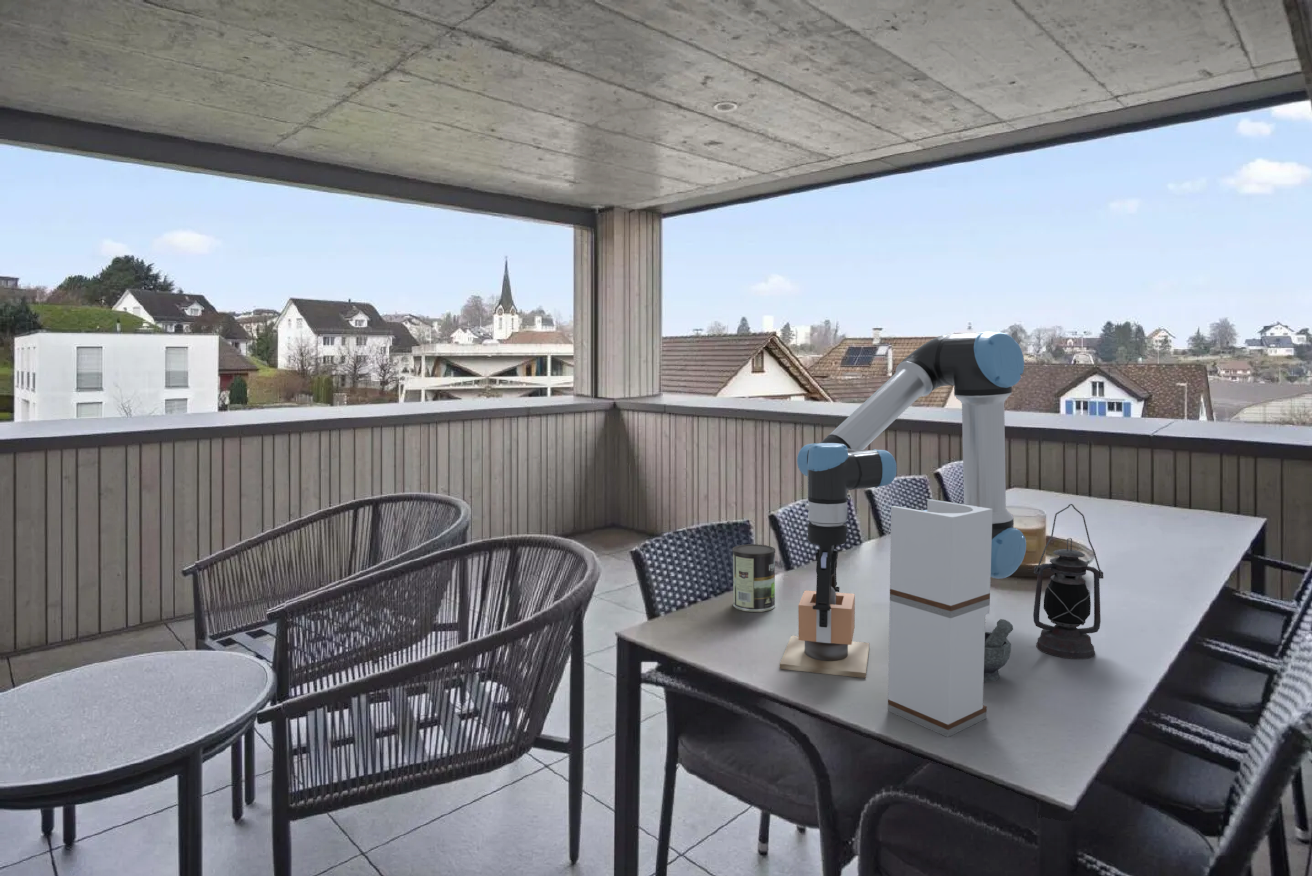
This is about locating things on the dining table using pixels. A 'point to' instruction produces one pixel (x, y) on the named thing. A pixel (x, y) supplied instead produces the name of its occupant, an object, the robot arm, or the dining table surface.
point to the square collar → (839, 618)
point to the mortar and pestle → (996, 650)
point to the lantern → (1067, 603)
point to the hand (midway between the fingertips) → (826, 632)
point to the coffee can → (754, 577)
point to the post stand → (826, 656)
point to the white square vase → (939, 614)
